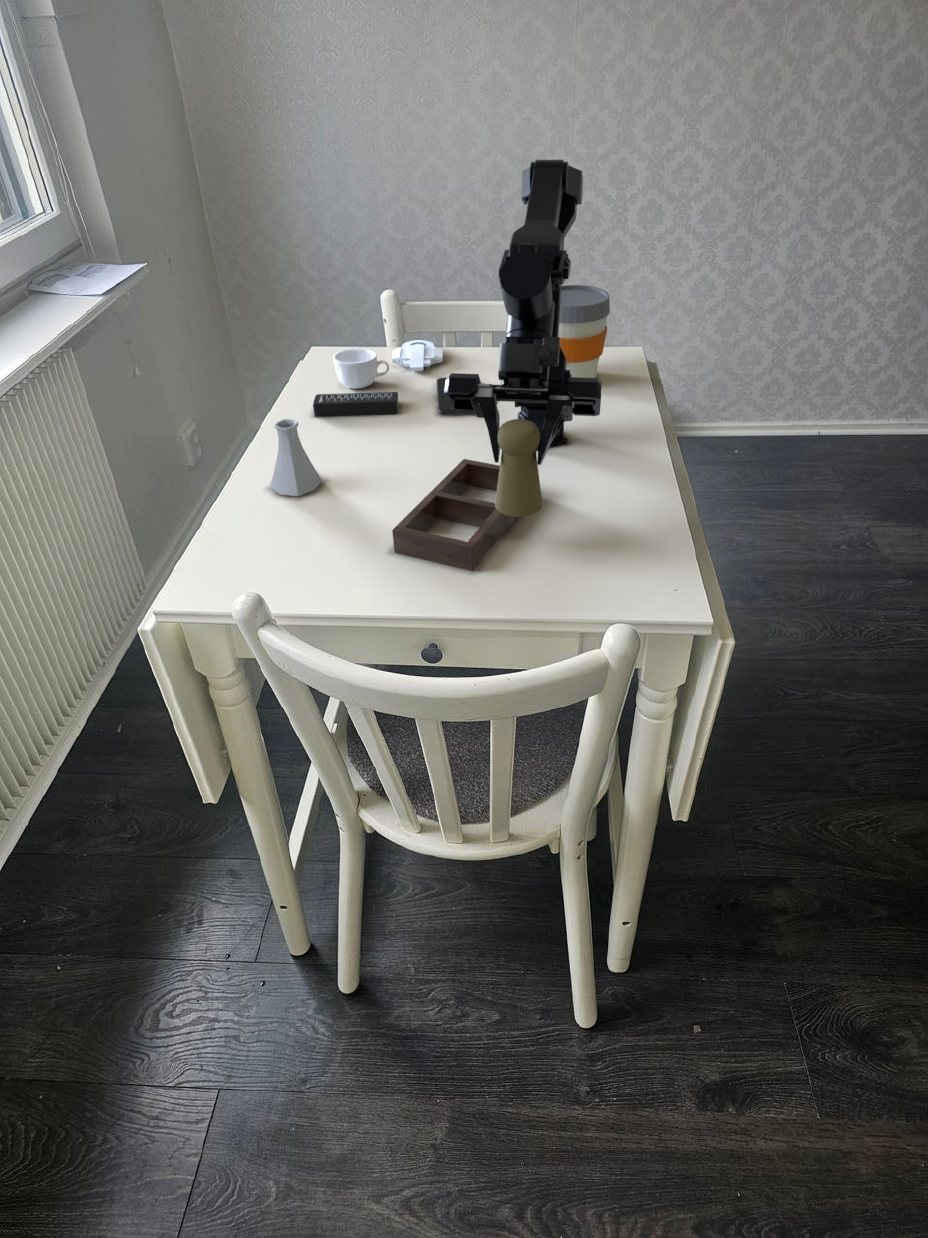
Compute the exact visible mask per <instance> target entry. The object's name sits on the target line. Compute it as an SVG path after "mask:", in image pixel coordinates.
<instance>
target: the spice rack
mask: <svg viewBox="0 0 928 1238" xmlns="http://www.w3.org/2000/svg"><path fill="white" fill-rule="evenodd" d="M499 470H500V464H494V463H489V462H484V461H483V462H482V461H478V460H473V459H467V458H463V459H462V460H461V461H460V462H458V464H457V465H456V466H455V467H454V468H453V469H452V470H451V471H450V472H449V473H448V474H447V475H446V476H445V477H444V478H443V479H442V480H441V481H440V482H439V483H438V484H437V485H436V486H435V487H434V488H433V489H432V490H431V491H430V492H429V493H428V494H427V495H426V496H425V497H424V498H423V499H422V500H420V501H419V503H418V504H417V505H416V506H415V507H414V508H413V509H412V510H411V511H410V512H408V513H407V515H406V516H404V518H403V519H402V520H401V521H399V523H397V525H395V527H394V528H393V529H391V530H392V541H393V552H394V553H395V554H398V555H399V554H400V555H404V556H407V557H411V558H416V559H420V560H425V561H429V562H432V563H436V564H441V565H445V566H449V567H453V568H457V569H462V570H466V571H469V572H474V570H475V569H476V568H477V566H478V565H479V564H480V563H481V562H482V560H483V559H484V558H485V556H486V555H487V554H488V553H489V551H490V550H491V549H492V548H493V547H494V546H495V544H496V543H497V542H498V540H499V539H500V538H501V537H502V535H503V534H504V533H505V532H506V531H507V529H508V528H509V527H511V525H512V524H513V522H514V521H515V520H516V519H517V517H514V516H508V515H505V514H503V513H500V512H499V511H498V510H497V509H496V507H495V502H491V501H486V500H481V499H477V498H471V497H467V496H462V495H460V494H461V493H462V492H463V491H464V490H465V489H466V488H467V487H468V486H473V487H479V488H483V489H488V490H494V491H497V485H498V477H499ZM437 518H440V519H444V520H448V521H452V522H457V523H462V524H466V525H471V526H475V527H478V528H477V530H476V531H475V532H474V533H473V535H471V537H470V538H469V539H468V540H467V541H465V540H462V539H457V538H454V537H453V538H452V537H448V536H445V535H444V536H443V535H439V534H434V533H431V532H427V531H426V530H427V529H428V528H429V527H430V526H431V525H432V524H433V522H434V521H435V520H437Z"/></svg>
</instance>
